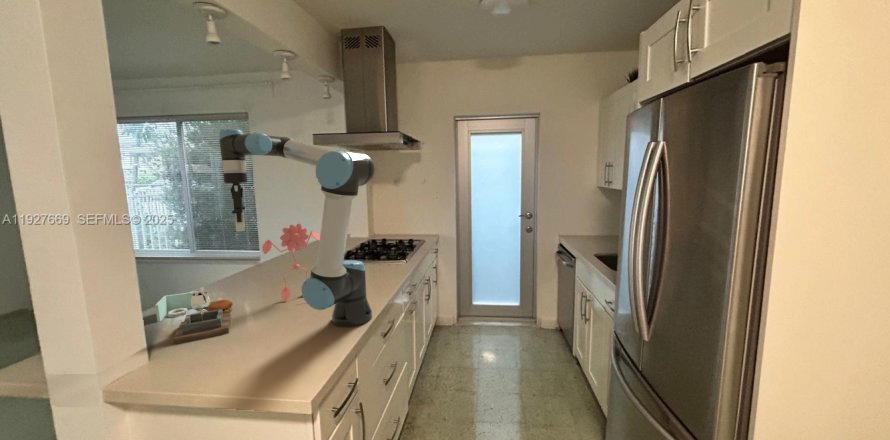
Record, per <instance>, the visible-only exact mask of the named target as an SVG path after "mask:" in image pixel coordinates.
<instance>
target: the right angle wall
mask: <svg viewBox="0 0 890 440" xmlns="http://www.w3.org/2000/svg"><path fill="white" fill-rule="evenodd" d="M198 292H199V291H198V290H197V291H190V292H183V293H175V294H169V295H168V294H167V295H163V297H162V298H160V300H158V302H157V303H155V305H154V306H155V314H156V320H157V322H158V323H159V322H162V320H163V319H164V317H165V316H166V315H167V317H169V318H176V317H177V318H179V317H182V316H183V315H186V314H187V315H188V312H189V310H188V309H193V308H192V305H191V299H192V295H193V294H195V293H198Z"/></svg>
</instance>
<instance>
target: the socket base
mask: <svg viewBox="0 0 890 440" xmlns="http://www.w3.org/2000/svg"><path fill="white" fill-rule="evenodd" d="M203 312H204V316H203V317H204V321H202V316H201V312H197V313H191V314H187V315H186V316H185V318H184V320H183V321H181V322H180V324H179V326H178V327H177V330H176V333H175V334H174V335H173V336H174V337H173V344H174V345H176V344H177V345H178V344H182V343H186V342H192V341H196V340H200V339H205V338H210V337H215V336H220V335H224V334H228V333H230V329H231V328H230V325H231V319H232V316H231V315H232V314H231V312H229V313H227V314H223V310H222V309H218V310H213V311H203Z"/></svg>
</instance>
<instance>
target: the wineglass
mask: <svg viewBox="0 0 890 440" xmlns="http://www.w3.org/2000/svg"><path fill="white" fill-rule="evenodd" d="M210 303H211V298H210V295H209V293H208V291H198V293H195V294H193V295H192V299H191V305H192V308H191V309H193V310H194V311H198V312H200V313H201V316H202V321H204V317H203V316H204V312H205V310H206V309H207V308H208V307H209V306H210Z"/></svg>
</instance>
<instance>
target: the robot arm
mask: <svg viewBox="0 0 890 440" xmlns="http://www.w3.org/2000/svg"><path fill="white" fill-rule="evenodd" d="M218 134H219V135H218V138H219V139H218V141H219V149H220V156H221V157H220V158H221V163H220V165H219V166H221V167H222V172H224V173H223V182H224V183H225V184H231V185H232V186H231V187H230V194H231V199H232V200H233V201H232V202H233V210H232V211H231V214H234V223H235V231H236V232H245V231H246V230H245V229H246V228H245V227H246V222H245V212H244V211H245V210H246V206H244V203H243V198H244V196H243V195H244V194H243V193H244V188H243V187H242V185H241V184H245V183H247V182H248V174H247V172H246V171H247V163H246V156H267V157H268V156H269V157H271V156H272V157H281V158H283V159H288V160H292V161H295V162H299V163H303V164H305V165H309V166H313V167H315V177H316V179H318V180H317V181H318V183H319V184H320V185H321V186H320V192H322V193H323V194H324V203H323V211H322V220H321V225H320V226H321V227H320V233H319V235H320V241H318V242H319V243H318V244H319V245H318V250H317V251H318V253H317V258H316V263H314V265H312V266H311V268H310V276H309V278H307V280H306V279H305V281H304V282H303V283H302V286H301V294H302V297H303V300H304V301H305V304H307V305H308V306H309V307H310V308H312V309H314V310H317V311H323V310H327V309H329V308H331V307H333V306H334V307H333V310H332V313H331V320H332V321H331V322H332V324H334V325H335V326H338V327H356V326H360V325H362V324H365V323H367V322H369V321H371V320H372V319H373V312H372V311H373V310H372V307H371V305H370V303H369V301H368V298H367V286H366V285H367V284H366V282H367V281H366V268H365V264H364V262H363V261H359V260H351V259H350V260H344V258H345V253H346V245H347V240H348V239H347V238H348V237H347V236H348V231H349V224H350V216H351V209H352V202H353V199H355V198H356V197H357V196H358V195H359V194H358V193H359V188H360V187H363V186H365V185H367V184H369V183H370V182H371V181H372V179H373V178H374V177H375V174H376V173H375V172H376V167H375V163H374V161H373V159H372V157H370V156H369V155H368V154H366V153H363V152H360V151H359V152H358V151H349V150H339V149H338V150H334V149H329V148H326V147H322V146H318V145H315V144H310V143H306V142H303V141H299V140H296V139H294V138H291V137H287V136H276V135H274V136H273V135H267V134H265V133H262V132H252V133H243V131H242V130H241V129H236V128H223V129H220V130H219V133H218Z"/></svg>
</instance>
